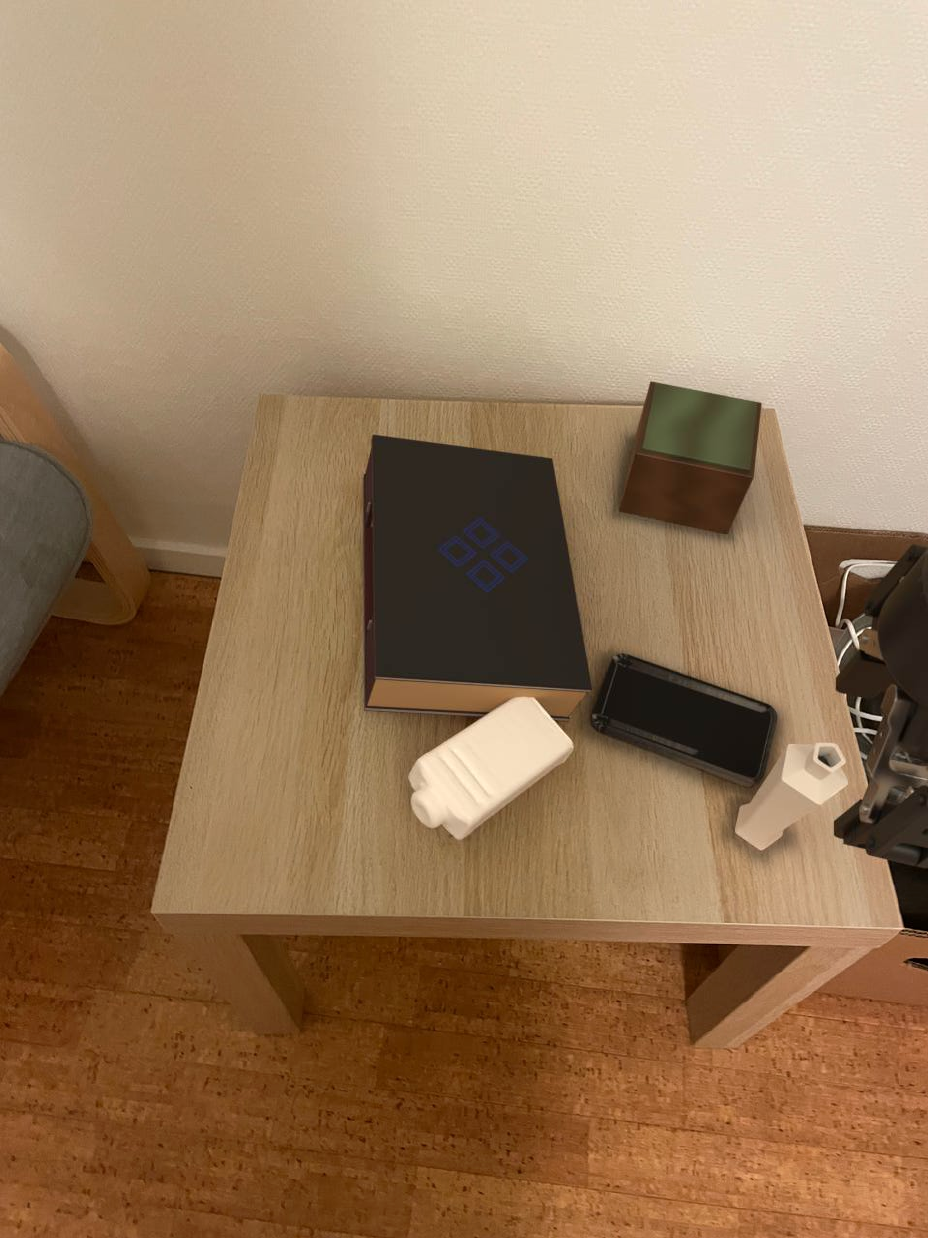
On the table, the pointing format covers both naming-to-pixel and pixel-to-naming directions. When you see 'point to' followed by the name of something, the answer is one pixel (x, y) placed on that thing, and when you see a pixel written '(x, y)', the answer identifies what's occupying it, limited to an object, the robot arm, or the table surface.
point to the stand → (692, 457)
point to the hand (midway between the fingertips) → (852, 758)
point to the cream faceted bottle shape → (791, 791)
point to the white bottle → (486, 766)
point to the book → (466, 583)
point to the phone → (685, 719)
